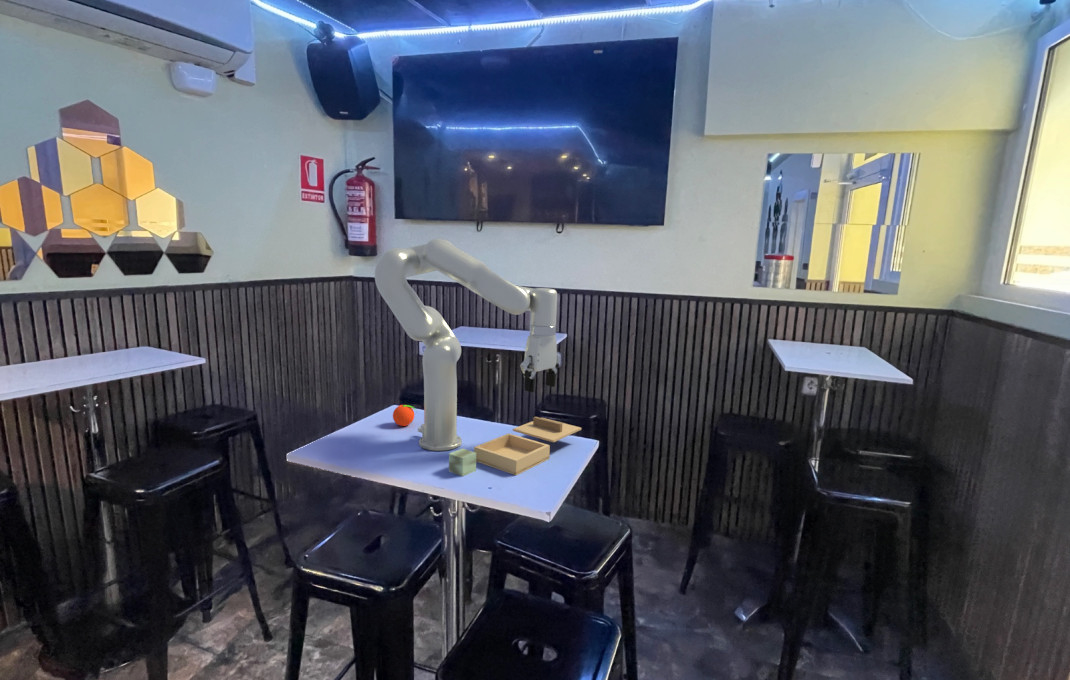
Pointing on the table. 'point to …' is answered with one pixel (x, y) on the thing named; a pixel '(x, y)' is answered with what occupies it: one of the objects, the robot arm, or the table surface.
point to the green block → (462, 462)
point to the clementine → (403, 415)
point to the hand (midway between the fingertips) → (540, 388)
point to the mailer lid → (547, 429)
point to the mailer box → (512, 453)
